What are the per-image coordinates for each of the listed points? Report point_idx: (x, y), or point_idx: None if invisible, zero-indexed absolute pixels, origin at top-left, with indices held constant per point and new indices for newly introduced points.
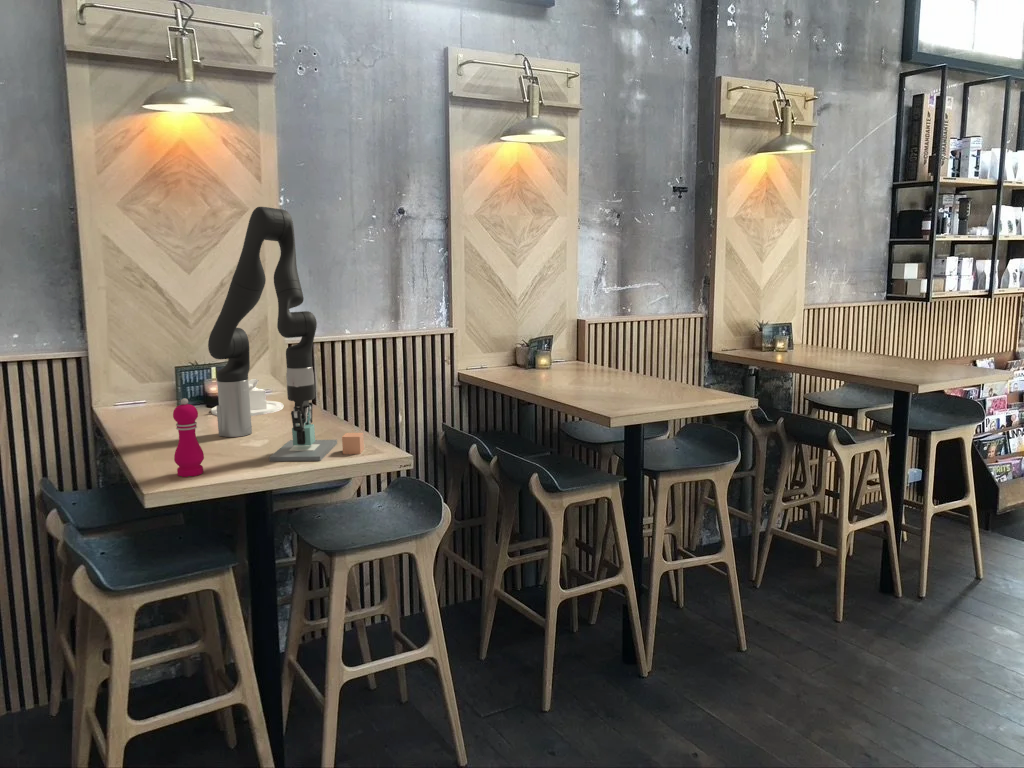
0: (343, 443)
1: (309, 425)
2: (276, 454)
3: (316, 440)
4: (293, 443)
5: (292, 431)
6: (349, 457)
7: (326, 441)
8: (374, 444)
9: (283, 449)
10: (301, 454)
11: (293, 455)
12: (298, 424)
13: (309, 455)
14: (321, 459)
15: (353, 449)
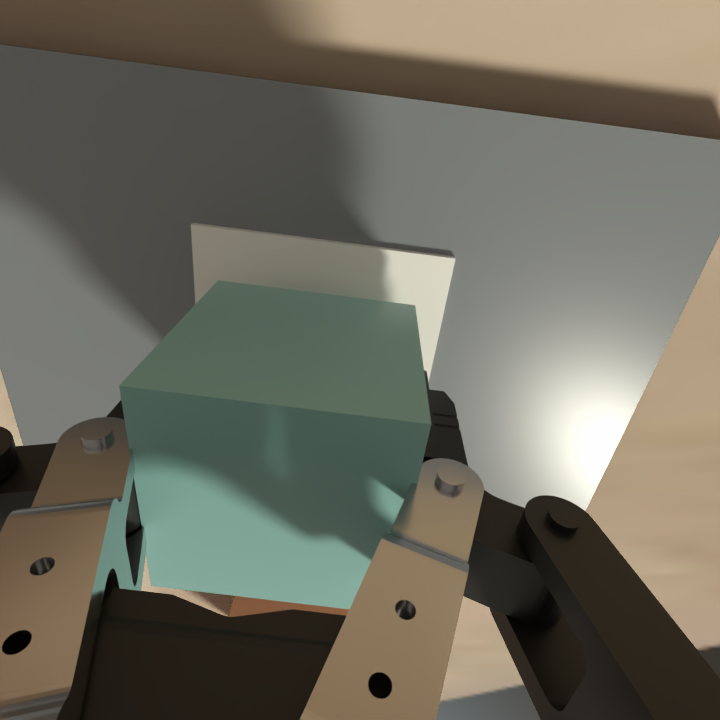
0: None
1: (316, 575)
2: (34, 104)
3: (600, 420)
4: (212, 294)
5: (146, 361)
6: (160, 589)
7: (525, 492)
8: (456, 674)
9: (269, 147)
10: (74, 357)
11: (25, 296)
12: (423, 446)
13: (51, 419)
14: None
15: None
